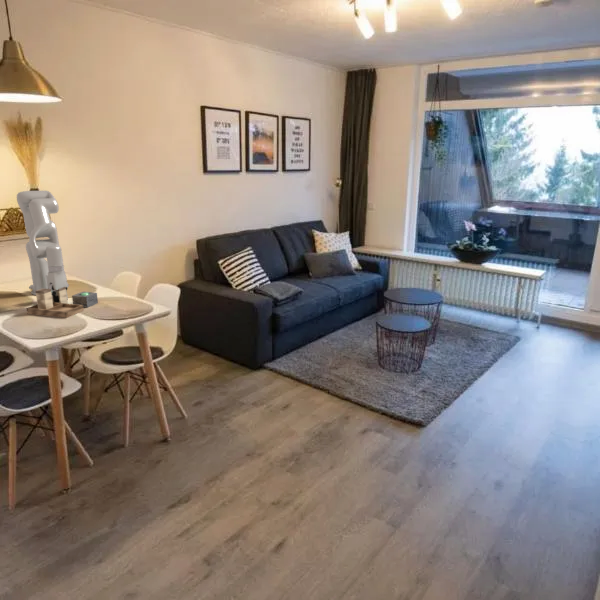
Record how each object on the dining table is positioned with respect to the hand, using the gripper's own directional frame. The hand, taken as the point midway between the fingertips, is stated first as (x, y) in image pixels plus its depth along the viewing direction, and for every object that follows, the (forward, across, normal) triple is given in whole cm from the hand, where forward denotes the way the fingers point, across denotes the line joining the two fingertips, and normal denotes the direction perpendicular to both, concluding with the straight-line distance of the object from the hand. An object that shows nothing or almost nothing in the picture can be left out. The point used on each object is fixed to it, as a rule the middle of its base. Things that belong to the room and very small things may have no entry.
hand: (60, 300), depth 264 cm
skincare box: (+3, -8, -8) cm, 12 cm away
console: (+3, -5, +12) cm, 13 cm away
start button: (+1, -5, +12) cm, 13 cm away
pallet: (+3, +11, +6) cm, 13 cm away
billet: (+3, 0, 0) cm, 3 cm away
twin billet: (+1, +11, 0) cm, 11 cm away
